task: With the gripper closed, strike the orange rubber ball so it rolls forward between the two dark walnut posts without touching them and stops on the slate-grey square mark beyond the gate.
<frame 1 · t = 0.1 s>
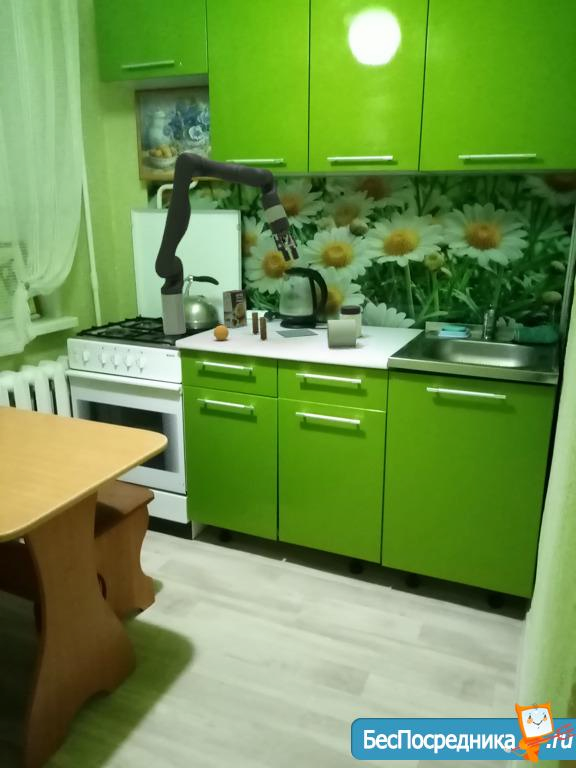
hand: (292, 259, 229), 31 cm above the countertop, tool tilted 20°, fingers open, 8 cm apart
post 2: (263, 339, 240), on the countertop
coffee box: (236, 326, 271), on the countertop
toilet paper: (341, 346, 224), on the countertop
ball: (221, 332, 241), on the countertop
jar: (350, 336, 241), on the countertop
post 1: (255, 333, 252), on the countertop
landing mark: (296, 333, 251), on the countertop
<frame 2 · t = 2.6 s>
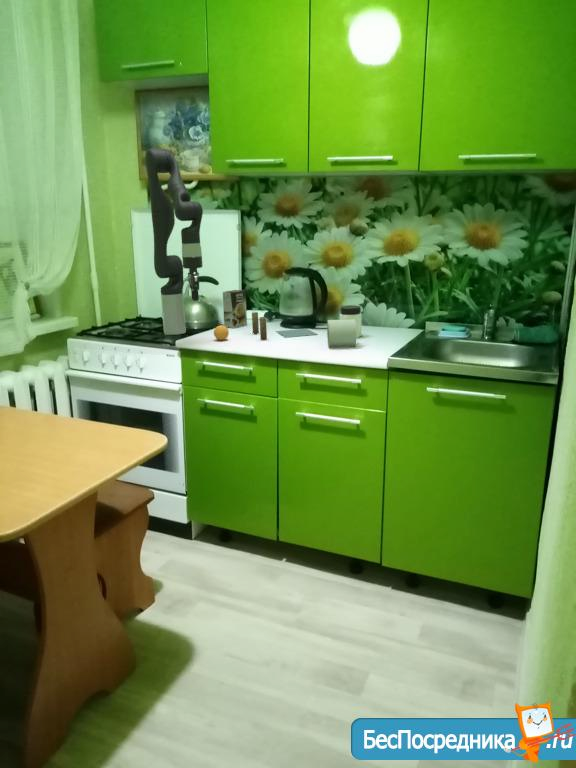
hand: (195, 299, 235), 17 cm above the countertop, tool pointing down, fingers closed
nothing on the countertop moved.
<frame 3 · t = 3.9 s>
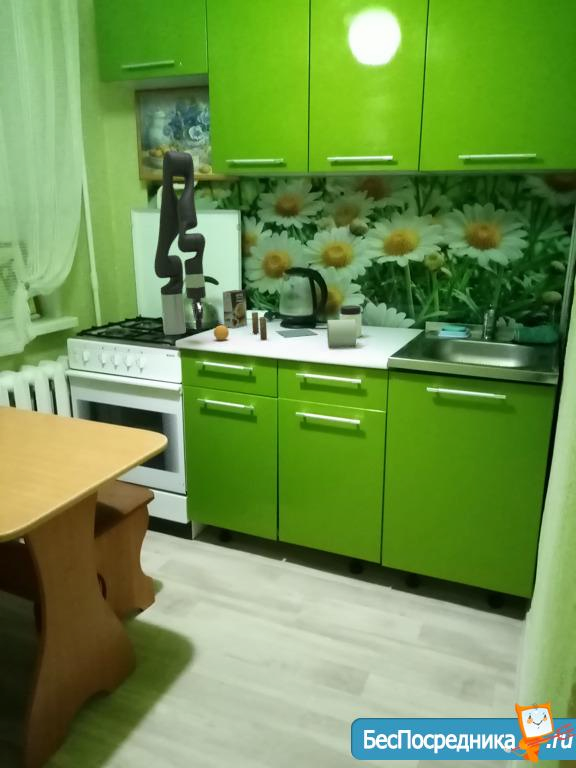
hand: (199, 329, 238), 5 cm above the countertop, tool pointing down, fingers closed
nothing on the countertop moved.
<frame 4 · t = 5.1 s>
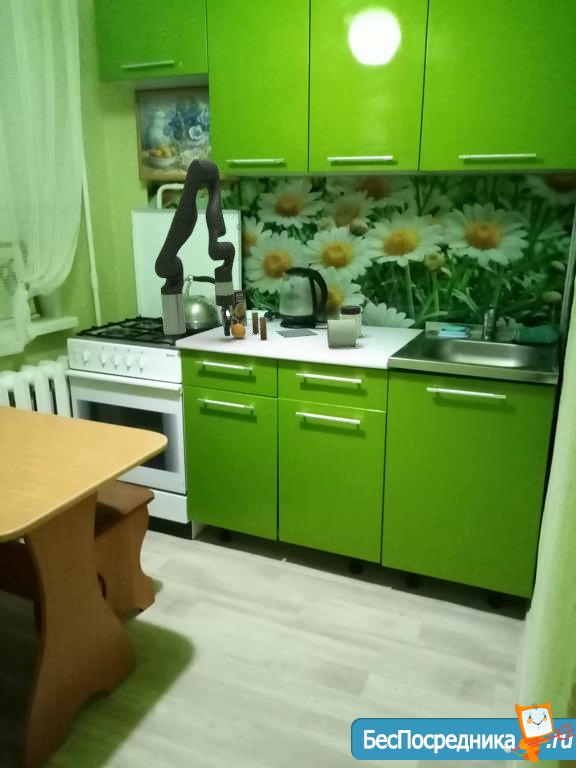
hand: (227, 335, 242), 2 cm above the countertop, tool pointing down, fingers closed
ball: (238, 331, 243), on the countertop
everything else where it was.
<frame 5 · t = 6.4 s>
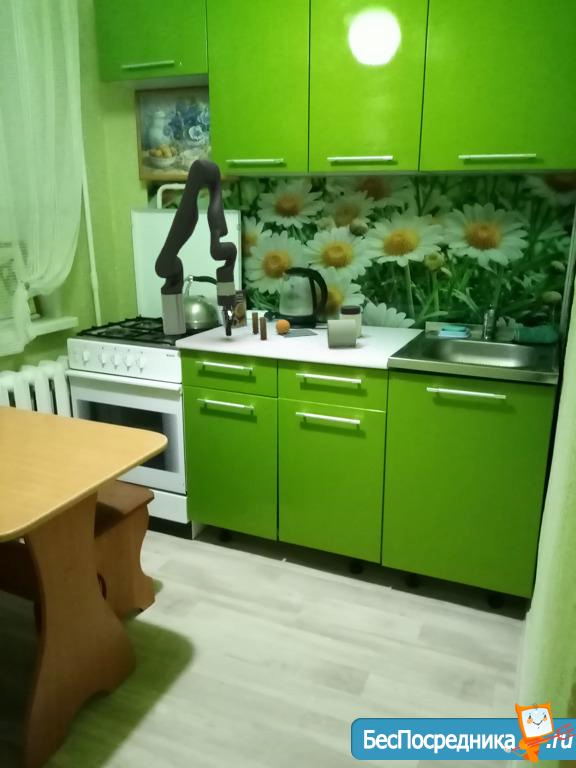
hand: (228, 335, 242), 2 cm above the countertop, tool pointing down, fingers closed
ball: (282, 326, 249), on the countertop
everything else where it was.
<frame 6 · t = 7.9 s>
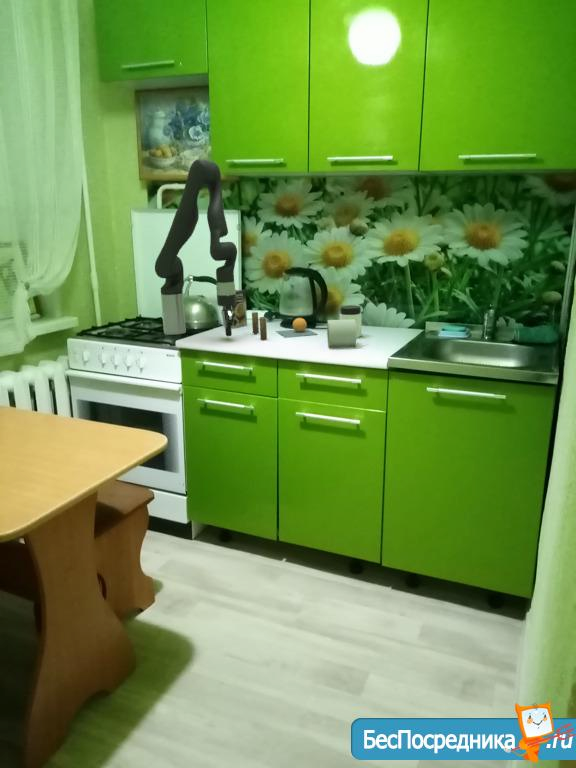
hand: (228, 335, 242), 2 cm above the countertop, tool pointing down, fingers closed
ball: (299, 325, 252), on the countertop
everything else where it was.
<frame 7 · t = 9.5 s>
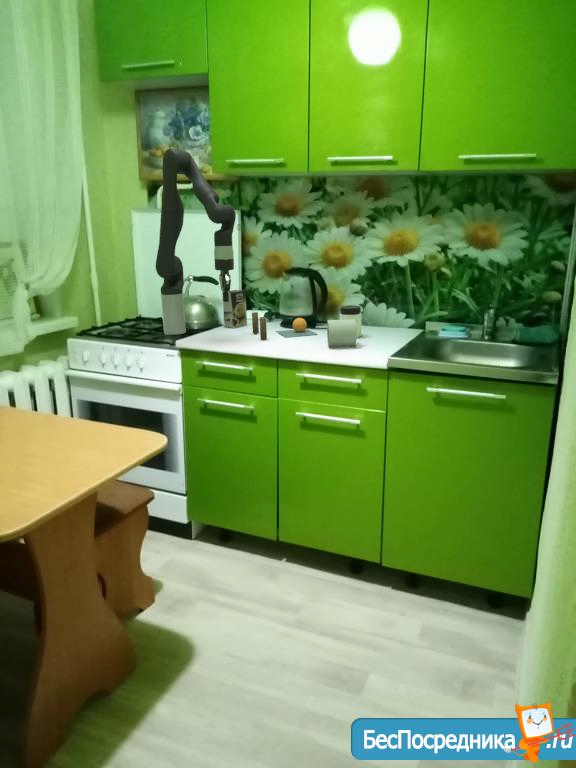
hand: (225, 301, 238), 16 cm above the countertop, tool pointing down, fingers closed
nothing on the countertop moved.
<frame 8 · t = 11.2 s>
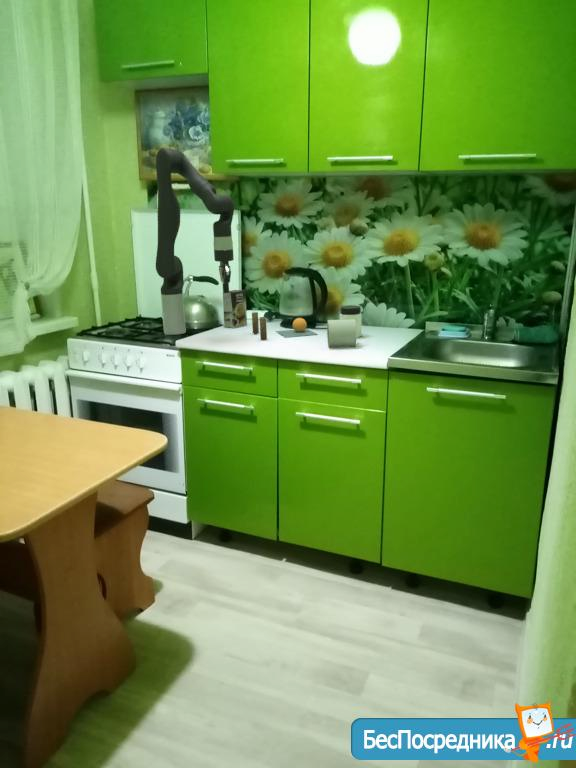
hand: (226, 292, 237), 19 cm above the countertop, tool pointing down, fingers closed
nothing on the countertop moved.
at the end: ball 2.7 cm from the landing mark (horizontally); ball never touched post 1; ball never touched post 2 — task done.
